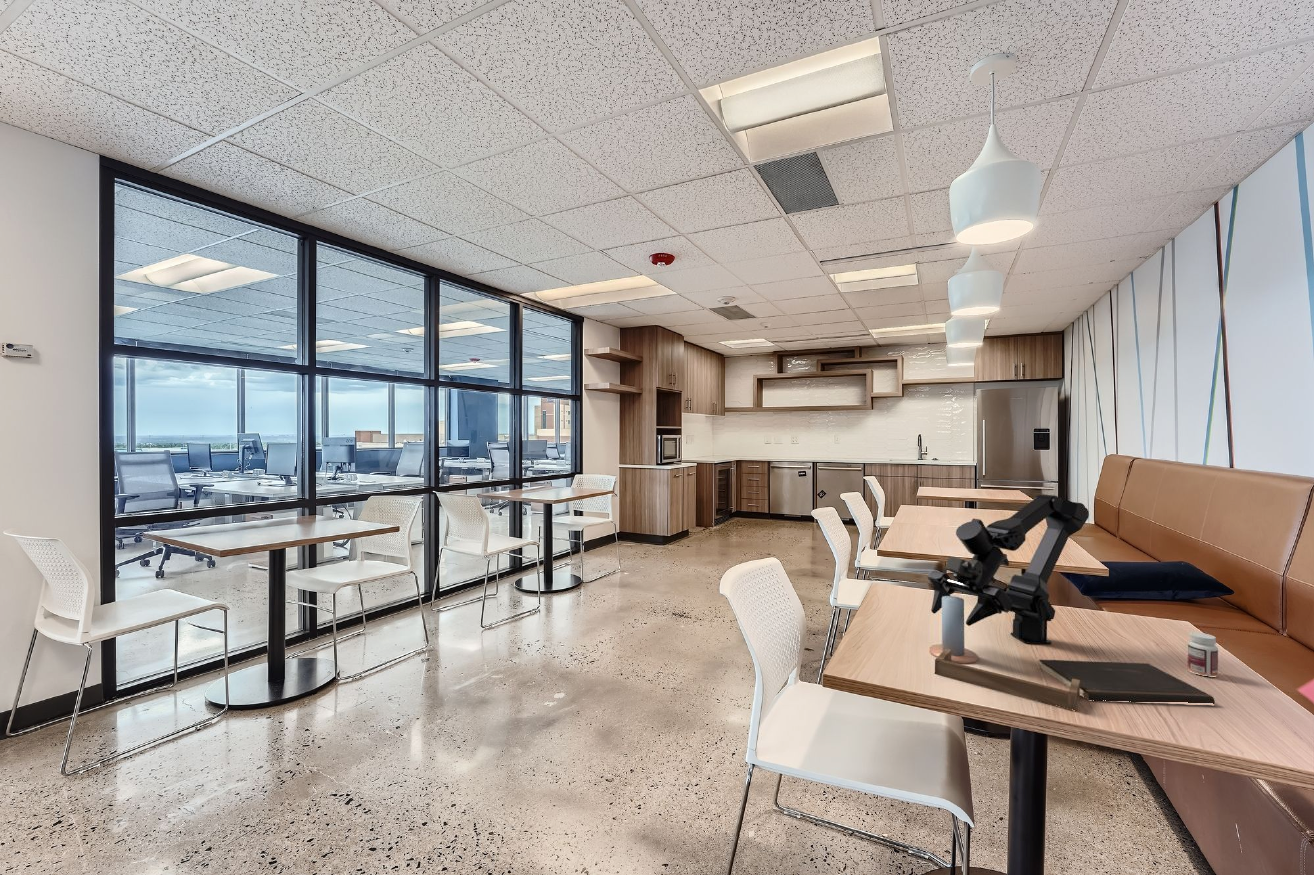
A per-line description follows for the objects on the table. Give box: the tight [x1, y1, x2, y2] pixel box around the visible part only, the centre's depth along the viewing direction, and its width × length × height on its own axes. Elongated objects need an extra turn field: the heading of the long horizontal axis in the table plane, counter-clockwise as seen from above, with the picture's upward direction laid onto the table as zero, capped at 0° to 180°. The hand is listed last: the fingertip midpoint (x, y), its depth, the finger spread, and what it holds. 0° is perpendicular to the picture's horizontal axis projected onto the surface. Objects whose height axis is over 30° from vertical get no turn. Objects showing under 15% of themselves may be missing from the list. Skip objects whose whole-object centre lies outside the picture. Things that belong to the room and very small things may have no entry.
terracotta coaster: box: [928, 643, 979, 665], centre depth 131 cm, size 10×10×1 cm
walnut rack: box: [934, 649, 1080, 711], centre depth 116 cm, size 9×24×3 cm, turn 49°
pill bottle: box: [1187, 632, 1219, 677], centre depth 123 cm, size 5×5×8 cm
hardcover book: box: [1038, 659, 1215, 704], centre depth 116 cm, size 16×23×2 cm
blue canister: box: [941, 595, 965, 656], centre depth 131 cm, size 5×5×12 cm
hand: (949, 618), depth 131 cm, fingers open, 9 cm apart
